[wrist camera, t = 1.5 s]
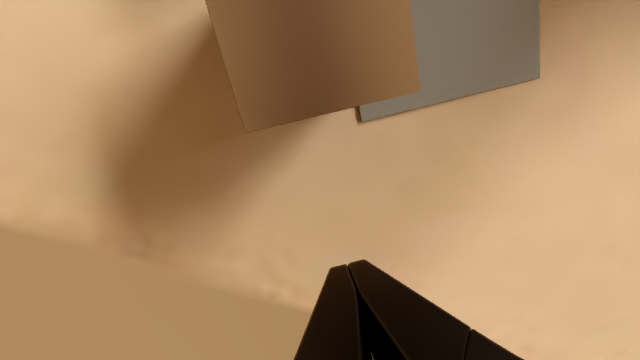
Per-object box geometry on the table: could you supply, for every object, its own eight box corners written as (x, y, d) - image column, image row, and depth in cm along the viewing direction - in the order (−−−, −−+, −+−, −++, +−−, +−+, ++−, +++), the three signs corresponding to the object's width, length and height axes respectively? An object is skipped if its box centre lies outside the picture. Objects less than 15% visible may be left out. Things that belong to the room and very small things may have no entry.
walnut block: (343, -38, 17) (393, -127, 8) (363, 72, 18) (420, 91, 10) (239, -12, 17) (182, -74, 8) (268, 95, 18) (245, 133, 10)
